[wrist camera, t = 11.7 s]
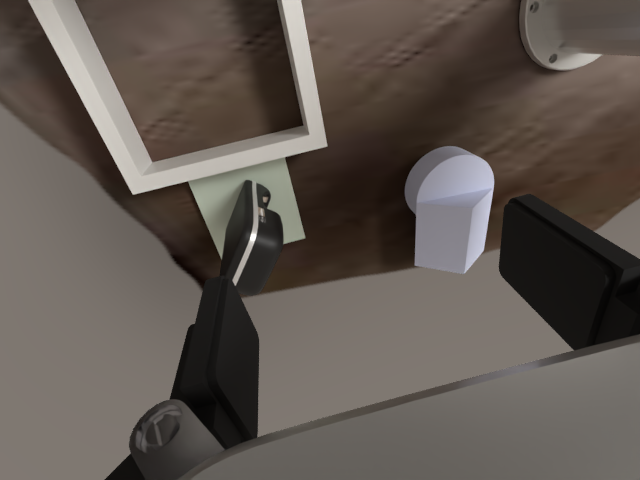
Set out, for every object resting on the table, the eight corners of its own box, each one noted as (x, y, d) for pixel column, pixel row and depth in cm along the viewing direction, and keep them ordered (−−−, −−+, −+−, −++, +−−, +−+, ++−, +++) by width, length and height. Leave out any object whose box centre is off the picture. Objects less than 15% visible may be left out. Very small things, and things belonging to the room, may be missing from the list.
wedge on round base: (468, 237, 45) (481, 139, 38) (500, 266, 39) (522, 157, 32) (404, 251, 44) (404, 153, 37) (426, 282, 38) (433, 174, 31)
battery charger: (257, 241, 38) (259, 308, 29) (224, 231, 37) (215, 298, 27) (280, 188, 36) (292, 243, 26) (246, 175, 34) (245, 227, 25)
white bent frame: (261, -172, 23) (292, -745, 6) (319, 136, 34) (387, 227, 17) (-7, -120, 22) (-821, -632, 5) (144, 179, 33) (38, 319, 17)
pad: (284, 154, 35) (284, 156, 34) (304, 235, 40) (305, 238, 39) (188, 178, 34) (187, 180, 34) (222, 257, 39) (221, 260, 39)
